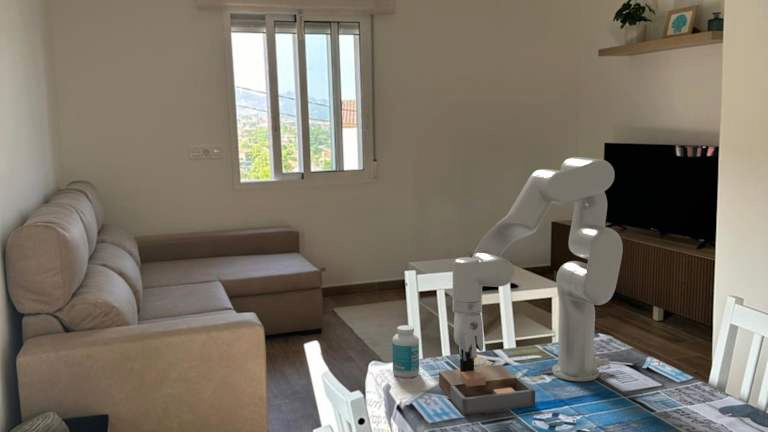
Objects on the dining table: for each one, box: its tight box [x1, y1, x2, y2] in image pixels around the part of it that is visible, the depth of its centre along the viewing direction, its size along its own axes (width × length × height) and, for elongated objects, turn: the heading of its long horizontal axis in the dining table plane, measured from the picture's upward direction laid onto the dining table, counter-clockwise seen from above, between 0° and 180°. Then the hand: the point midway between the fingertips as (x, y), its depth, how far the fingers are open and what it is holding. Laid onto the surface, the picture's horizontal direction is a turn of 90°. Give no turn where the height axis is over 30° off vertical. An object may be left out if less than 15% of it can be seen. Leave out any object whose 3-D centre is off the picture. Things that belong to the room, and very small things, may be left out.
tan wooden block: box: [438, 364, 518, 399], centre depth 183 cm, size 18×10×4 cm, turn 105°
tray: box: [449, 377, 536, 416], centre depth 174 cm, size 19×9×4 cm, turn 105°
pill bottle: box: [392, 324, 420, 379], centre depth 194 cm, size 8×7×14 cm
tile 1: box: [460, 370, 486, 387], centre depth 178 cm, size 5×5×2 cm
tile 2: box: [493, 388, 515, 394], centre depth 175 cm, size 5×5×2 cm
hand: (467, 373), depth 182 cm, fingers closed
